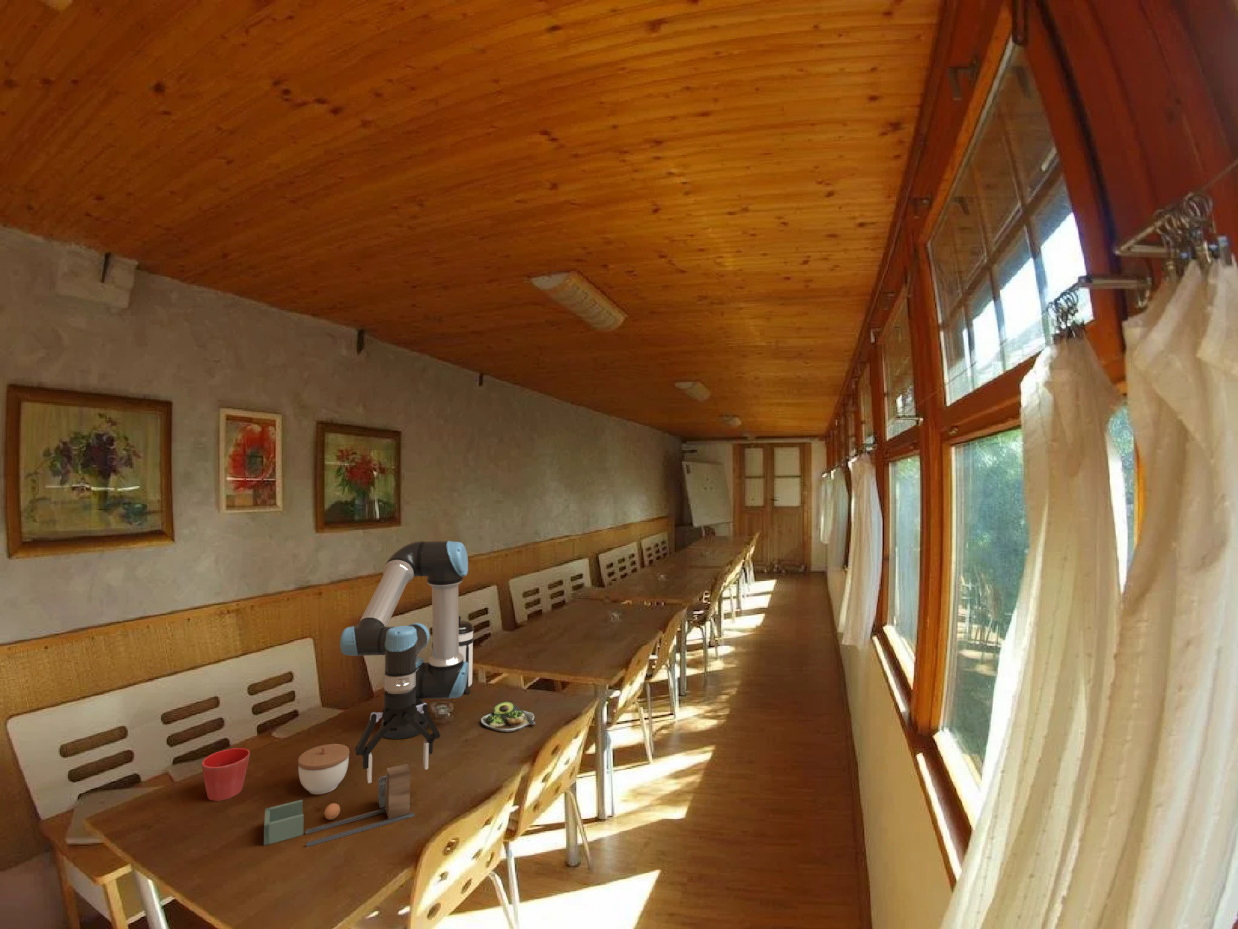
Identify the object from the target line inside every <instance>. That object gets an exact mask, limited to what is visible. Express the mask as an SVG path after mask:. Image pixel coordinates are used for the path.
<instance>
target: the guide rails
mask: <svg viewBox="0 0 1238 929" xmlns="http://www.w3.org/2000/svg"><path fill="white" fill-rule="evenodd" d="M385 813H386V807H383V808H380V809H377V810H374V811H369V812H366V813H362V814H358V815H355V816H350V817H347V818H343V819H340V820H336V821H333V822H329V823H325V824H321V825H318V826H315V827H314V826H313V827H311V828H307V829H305V835H309V834H311V833H317V832H319V831H323V830H327V829H330V828H331V829H332V828H334V827H338V826H341V825H345V824H348V823H351V822H352V823H353V822H356V821H359V820H363V819H366V818H371V817H374V816H378V815H382V814H385ZM413 817H415V811H412V812H410V813H408V814H404V815H401V816H397V817H394V818H390V819H388V818H387V819H383V820H380V821H377V822H373V823H369V824H366V825H363V826H359V827H358V826H357V827H355V828H352V829H348V830H344V831H342V832H341V831H340V832H337V833H335V834H334V833H333V834H330V835H327V836H322V837H320V838H319V837H318V838H317V839H313V840H309V841H306V845H305V847H307V848H308V847H311V846H315V845H319V844H322V843H326V842H328V841H333V840H335V839H339V838H342V837H346V836H349V835H354V834H357V833H360V832H363V831H367V830H371V829H374V828H378V827H381V826H382V827H383V826H384V825H389V824H392V823H395V822H399V821H403V820H405V819H409V818H413Z"/></svg>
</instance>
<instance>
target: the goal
mask: <svg viewBox="0 0 1238 929" xmlns="http://www.w3.org/2000/svg"><path fill="white" fill-rule="evenodd" d="M303 800H304V799H299V800H295V801H292V802H287V803H283V804H280V805H275V806H271V807H266V808H265V809H264V821H263V822H264V825H263V826H264V827H263V847H264V846H267V845H270V844H272V845H273V844H275V843H279V842H282V841H286V840H289V839H293V838H297V837H300V836H304V816H305V815H304V813H303V810H304V809H303V806H304V805H303V804H304V803H303V802H304V801H303Z"/></svg>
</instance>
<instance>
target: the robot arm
mask: <svg viewBox="0 0 1238 929" xmlns="http://www.w3.org/2000/svg"><path fill="white" fill-rule="evenodd" d="M468 557H469V556H468V552H467V549H466V546H465V545H464V544H463V542H460V541H452V540H444V541H443V540H441V541H435V540H434V541H433V540H432V541H423V540H421V541H419V540H418V541H414V542H411V543H408V544H406V545H404V546H402V547H401V548H399V549H398V550H397V551H396V552H394V553H393V554H392V555H391V556H390V557H389V558H388V559H387V561H386V563H385V564H384V566H383V570H382V573H383V575H382V577H381V580H380V581H379V583H378V584H377V587H376V588H375V590H374V593H373V594H372V596H371V599H370V601H369V602H368V604H367V606H366V608H365V610H364V612H363V614H362V615H361V618H360V620H359V622H358V623H357V625H356V626H355V625H352V626H348V627H346V628H344V629H343V631H342V633H341V635H340V638H339V639H340V640H339V648H340V652H341V653H342V654H343V655H344V656H351V657H352V656H355V657H363V656H366V657H367V656H384V682H383V683H384V692H383V710H382V711H381V712H376V711H374V710H373V711H371V712H370V714H369V719H368V722H367V724H366V726H365V729H364V730H363V733H362V734H361V736H360V737H359V740H358V742H357V744H356V745H355V748H354V752H355V755H356V756H362V768H363V770H366V780H367V784H371V783H372V780H373V778H372V775H373V755H372V751H373V750H374V749H375V747H377V745H378V743H379V742H380V741H381V739H382V738H386V739H393V740H399V739H402V740H403V739H407V738H412V737H415V736H418V735H421V736H422V737H424V739H423V748H422V750H423V752H422V756H423V757H422V766H423V768H424V770H428V769H429V758H430V757H429V755H432V754H433V751H434V750H433V749H434V748H433V746H434V744H433V743H434V742H435V740H436V739H440V737H441V734H440V731H439V729H438V728H437V726H436V724H435V722H434V720H433V719H432V717H431V715H430V712H429V705H428V704H427V703H426V702H425V701H424V699H425V700H426V699H427V700H428V699H431V700H432V699H433V700H435V699H436V700H437V699H439V700H440V699H448V700H450V699H458V698H460V697H462V695H463V694H464V693H465V692H464V690H465V686H466V682H467V677H468V670H469V664H468V662H466V661H465V662H464V661H463V655H462V654H461V653H459V616H460V615H459V612H460V611H459V585H460V584H462V582H463V581H464V577H467V575H468V572H469V560H468V559H469V558H468ZM415 577H426V579H427V580H426V581H427V582H426V583H427V584H428V585H429V586H430V587H431V602H432V603H431V604H432V606H431V607H432V609H431V614H432V616H431V617H432V618H431V620H432V621H431V622H432V655H431V656H429V658H428V660H427V662H425V660H424V658H423V657H421V656H420V657H419V656H418V654H419V653H421V652H422V651H423V650H424V649H426V647H427V644H428V643H429V641H430V639H431V636H430V631H429V629H428V627H427V626H426V625H424V624H423V623H420V622H414V623H411V624H408V625H400V626H399V625H398V626H388V624H389V623H390V620H391V618H392V616H393V615H394V612H395V610H396V608H397V606H398V603H399V601H400V598H401V597H402V594H403V592H404V590H405V588H406V586H407V584H408V583H410V582H411V581H412V580H413V579H414V578H415ZM381 718H382V721H381V723H380V726H379V728H378V730H377V731H376V732H375V733H374V734H373V736H372V737H371V738H370V736H371V735H372V732H373V731H374V728H375V726H376V723H378V722H379V721H380V719H381ZM428 726H429V728H430V729H431V731H432V732H431V733H430V732H429V731H427V729H428ZM369 738H370V740H369ZM368 740H369V741H368Z"/></svg>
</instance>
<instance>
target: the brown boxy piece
mask: <svg viewBox="0 0 1238 929" xmlns="http://www.w3.org/2000/svg"><path fill="white" fill-rule="evenodd" d="M377 784H378V785H377V803H378V805H379V808H380V809H383V808H386V812H385V813H386V816H387V819H390V818H394V817H397V816H401V815H404V814H408V813H411V812H410V811H411V810H410V809H411V808H410V807H411V768H410V766H409V764H408V763H404V764H400V765H395V766H391V767H387V768H386V774H385V775H382V776H379V778H378V781H377Z"/></svg>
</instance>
